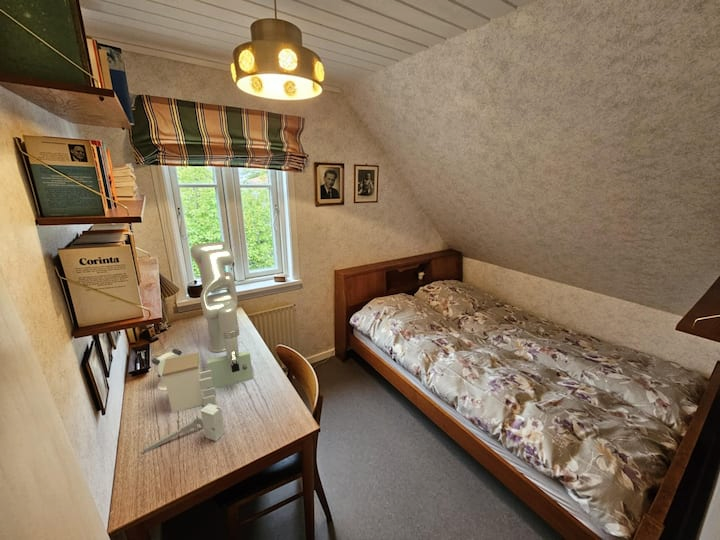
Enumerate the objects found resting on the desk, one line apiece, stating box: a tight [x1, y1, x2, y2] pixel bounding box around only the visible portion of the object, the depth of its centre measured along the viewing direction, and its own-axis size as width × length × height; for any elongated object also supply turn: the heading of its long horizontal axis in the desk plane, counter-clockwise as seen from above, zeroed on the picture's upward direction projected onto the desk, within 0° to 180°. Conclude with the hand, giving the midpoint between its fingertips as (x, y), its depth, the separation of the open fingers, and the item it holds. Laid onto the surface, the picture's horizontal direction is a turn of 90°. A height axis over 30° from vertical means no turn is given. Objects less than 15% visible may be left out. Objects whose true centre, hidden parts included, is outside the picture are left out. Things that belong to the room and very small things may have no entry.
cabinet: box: [162, 352, 217, 414], centre depth 133 cm, size 12×17×19 cm
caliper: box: [140, 416, 204, 455], centre depth 115 cm, size 20×1×6 cm, turn 124°
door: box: [206, 350, 254, 390], centre depth 144 cm, size 4×18×14 cm, turn 115°
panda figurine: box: [151, 348, 182, 392], centre depth 145 cm, size 12×11×15 cm
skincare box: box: [200, 403, 225, 442], centre depth 116 cm, size 6×4×12 cm
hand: (235, 365), depth 145 cm, fingers open, 9 cm apart
